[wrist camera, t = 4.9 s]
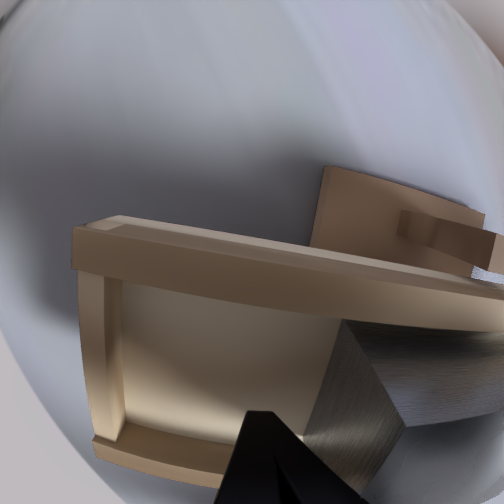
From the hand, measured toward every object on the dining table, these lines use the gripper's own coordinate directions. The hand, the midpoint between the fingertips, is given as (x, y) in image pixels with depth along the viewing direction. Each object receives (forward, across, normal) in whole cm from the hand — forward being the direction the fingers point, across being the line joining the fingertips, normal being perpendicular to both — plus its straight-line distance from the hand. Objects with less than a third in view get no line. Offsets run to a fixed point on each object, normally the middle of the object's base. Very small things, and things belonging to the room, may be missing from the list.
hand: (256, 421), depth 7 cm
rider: (+1, -6, 0) cm, 6 cm away
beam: (+2, -8, 0) cm, 8 cm away
